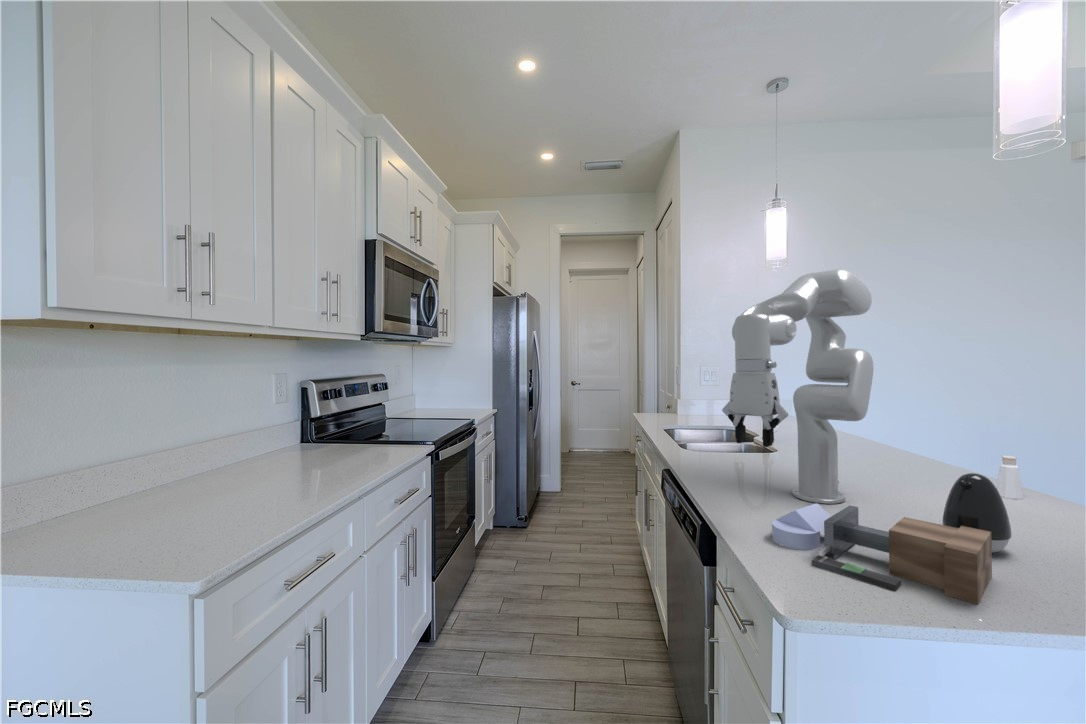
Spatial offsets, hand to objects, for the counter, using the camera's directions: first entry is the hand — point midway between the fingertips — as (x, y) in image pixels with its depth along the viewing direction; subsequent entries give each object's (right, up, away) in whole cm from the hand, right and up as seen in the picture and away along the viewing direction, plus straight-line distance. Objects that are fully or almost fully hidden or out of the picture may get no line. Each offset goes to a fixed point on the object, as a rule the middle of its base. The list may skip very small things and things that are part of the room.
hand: (754, 443), depth 107 cm
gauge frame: (+16, -19, -23) cm, 34 cm away
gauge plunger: (+13, -19, -18) cm, 29 cm away
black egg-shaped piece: (+39, -19, -14) cm, 45 cm away
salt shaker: (+78, -18, +18) cm, 82 cm away
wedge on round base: (+7, -20, -8) cm, 22 cm away
